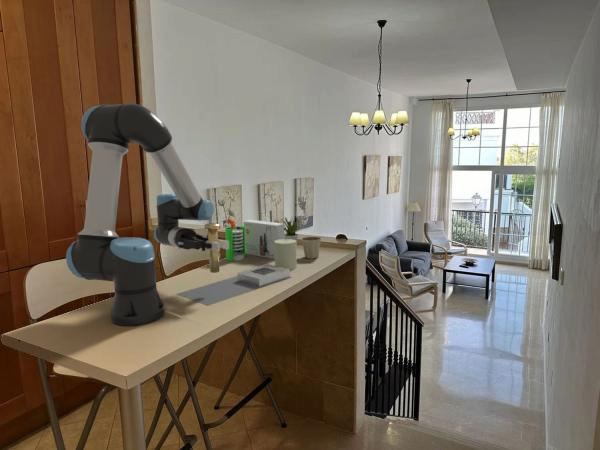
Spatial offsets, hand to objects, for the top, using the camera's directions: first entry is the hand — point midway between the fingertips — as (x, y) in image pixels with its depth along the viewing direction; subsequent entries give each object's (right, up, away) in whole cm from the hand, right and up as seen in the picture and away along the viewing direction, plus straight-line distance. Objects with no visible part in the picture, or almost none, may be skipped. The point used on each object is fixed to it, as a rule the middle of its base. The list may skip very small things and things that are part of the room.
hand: (223, 246), depth 145 cm
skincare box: (+9, -7, +59) cm, 60 cm away
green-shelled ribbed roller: (-4, -8, +55) cm, 55 cm away
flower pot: (+31, -8, +54) cm, 63 cm away
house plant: (+20, -4, +76) cm, 79 cm away
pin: (-4, -9, +5) cm, 11 cm away
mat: (+3, -15, +13) cm, 21 cm away
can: (+20, -11, +36) cm, 43 cm away
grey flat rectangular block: (+12, -13, +20) cm, 27 cm away
